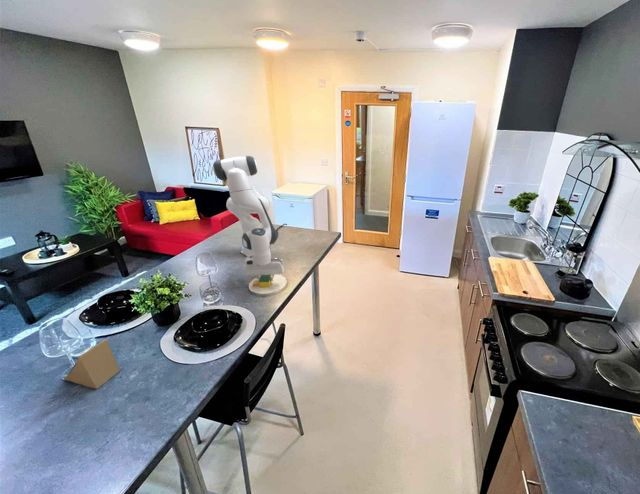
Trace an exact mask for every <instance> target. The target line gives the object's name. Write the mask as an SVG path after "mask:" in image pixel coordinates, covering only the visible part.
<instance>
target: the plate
mask: <svg viewBox="0 0 640 494" xmlns="http://www.w3.org/2000/svg"><path fill="white" fill-rule="evenodd" d="M258 276H259V277H261V275H258ZM254 280H258V279H257V278H256V277H255V278H254V279H252V280H251V281H250V282H249V284H248V290H250V291H251V292H252V293H255V294H259V295H266V294H267V295H268V294H273V293H276V292H278V291H280V290H283V288H284V287H286V285H287V283H288V280H287V277H285V276H283V274H275V275H274V277H273V281H271V284H270V287H261V288H260V286H252V284H253V281H254Z"/></svg>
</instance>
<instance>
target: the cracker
mask: <svg viewBox="0 0 640 494" xmlns="http://www.w3.org/2000/svg"><path fill="white" fill-rule="evenodd" d="M253 280H254V279H253ZM252 286H260V284H259V282H258V280H254V281H253V284H252Z"/></svg>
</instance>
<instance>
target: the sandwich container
mask: <svg viewBox="0 0 640 494" xmlns="http://www.w3.org/2000/svg"><path fill="white" fill-rule="evenodd" d="M119 372H121V369H120V367H119V364H118V362H117V359H116V358H115V355H114V353H113V351H112V349H111V346H110V344H109V341H108V340H107V338H106V339H103V340H102V341H100V342H99V343H96V344H95V345H94V346H92V347H91V348H89V349H88V350H86V351H85V352H84V353H82V354H81V355H80V356H78V358H77V360H76V361H75V363H74V365H73V366H72V367H71V368H70V370H69V372H68V373H67V375H66V376H65V377H64V380H65V381H68V382H72V383H74V384H77V385H81V386H84V387H87V388H91V389H95V390H97V389H99V388H101V386H102V385H104V384H105V383H107V382H108V381H109V380H111V378H113V377H114V376H115V375H117V374H118V373H119Z"/></svg>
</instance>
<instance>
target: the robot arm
mask: <svg viewBox="0 0 640 494" xmlns="http://www.w3.org/2000/svg"><path fill="white" fill-rule="evenodd" d="M258 169H259V166H258V162H257V161H256V159H255V158H254V157H253V156H252V155H245V156H233V157H229V158H224V159H217V160H215V161H214V162H213V165H212V171H213V174H214V175H215V177H216V178H217V179H218V180H220V181H223V182H224V183H225V182H227V189H228V193H229V197H228V198H227V200H226V205H225V207H226V209H227V210H228V212H230V213H231V214H233V215H234V216H235V217H236V218H237V219H238V220H239V222H240V224H241V227H242V228H241V229H242V232H243V233H242V236H241V248H242V249H241V251H240V254H243V255H244V256H245V257H246V258H245V259H244V266H243V274H244V275H245V276H246V277H248V276H249V277H250V276H254V277H255V278H257V279H258V282H259V279H260V277H259V276H261V275H272V277H270V281H273V277H274V275H275V274H278V275H283V274H284V271H285V267H284V260H283V258H280V257H272V252H271V249H270V248H271V247H270V245H274V244H275V243H276V242H277V240H278V237H279V236H278V235H279V232H278V230H279V229H280V228H282V227H283V226H285V225H286V226H288V224H287V223H283V224H281V225H280V226H278V227H277V228H275V227H274V225H273V222H272V220H271V218H270V215H269V213H268V211H269V210H270V201H269V199H268V198H267V197H266V196H264V195H262V194H260V193H259V192H258V191H257V190H256V189H255V187H254V184H253V182H252V179H251V178H252V177H253V176H255V175H257V173H258ZM252 214H257V215H258V217H259V219H258V218H257V217H254V216H253V215H252ZM261 223H262V226H261Z"/></svg>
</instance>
